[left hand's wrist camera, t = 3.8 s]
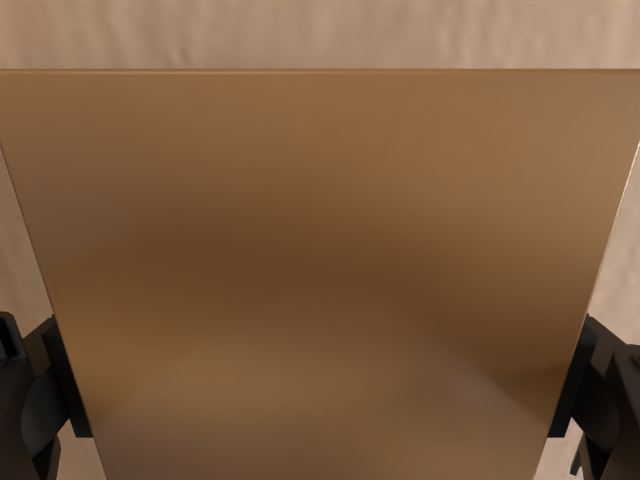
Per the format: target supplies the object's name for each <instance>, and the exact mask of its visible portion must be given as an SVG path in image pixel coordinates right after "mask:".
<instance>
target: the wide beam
mask: <svg viewBox="0 0 640 480" xmlns="http://www.w3.org/2000/svg"><path fill="white" fill-rule="evenodd" d="M0 147H1V150H2V153H3V156H4V159H5V163H6V166H7V169H8V172H9V175H10V178H11V181H12V184H13V188H14V191H15V194H16V197H17V200H18V203H19V206H20V209H21V213H22V216H23V219H24V222H25V225H26V228H27V231H28V234H29V238H30V241H31V244H32V247H33V250H34V253H35V256H36V259H37V263H38V266H39V269H40V272H41V275H42V278H43V281H44V284H45V288H46V291H47V294H48V297H49V300H50V303H51V306H52V309H53V313H54V316H55V319H56V322H57V325H58V328H59V331H60V334H61V338H62V341H63V344H64V347H65V350H66V353H67V356H68V359H69V363H70V366H71V369H72V372H73V375H74V378H75V381H76V384H77V388H78V391H79V394H80V397H81V400H82V403H83V406H84V410H85V413H86V416H87V419H88V422H89V425H90V428H91V431H92V435H93V438H94V441H95V444H96V447H97V450H98V453H99V456H100V460H101V463H102V466H103V469H104V472H105V475H106V478H107V480H534V477H535V474H536V470H537V467H538V464H539V461H540V458H541V455H542V452H543V449H544V445H545V442H546V439H547V436H548V433H549V430H550V427H551V424H552V420H553V417H554V414H555V411H556V408H557V405H558V402H559V399H560V395H561V392H562V389H563V386H564V383H565V380H566V377H567V374H568V370H569V367H570V364H571V361H572V358H573V355H574V352H575V349H576V345H577V342H578V339H579V336H580V333H581V330H582V327H583V324H584V320H585V317H586V314H587V311H588V308H589V305H590V302H591V299H592V295H593V292H594V289H595V286H596V283H597V280H598V277H599V274H600V270H601V267H602V264H603V261H604V258H605V255H606V252H607V249H608V245H609V242H610V239H611V236H612V233H613V230H614V227H615V224H616V220H617V217H618V214H619V211H620V208H621V205H622V202H623V199H624V195H625V192H626V189H627V186H628V183H629V180H630V177H631V174H632V170H633V167H634V164H635V161H636V158H637V155H638V152H639V149H640V69H0Z"/></svg>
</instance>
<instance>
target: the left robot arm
mask: <svg viewBox="0 0 640 480" xmlns="http://www.w3.org/2000/svg"><path fill="white" fill-rule="evenodd" d="M571 417H572V418H573V419H574V420H575V422H576V423H577V424H578V425H579V427H580V428H581V429H582V430H583V435H582V438H581V440H580V443H579V446H578V448H577V451H576V454H575V457H574V459H573V462H572V465H571V470H570V474H572V475H575V476H576V474H577V472H578V469H579V467H581V466H582V470H583V476H584V480H640V345H633V344H628V345H627V344H626V343H624V342H623V341H622V340H621V339H619V338H618V337H617V336H616V335H614V334H613V333H612V332H611V331H609V330H608V329H607V328H606V327H604V326H603V325H602V324H601V323H599V322H598V321H597V320H596V319H594V318H593V317H589V314H588V313H587V314H586V317H585V320H584V324H583V327H582V330H581V333H580V336H579V339H578V342H577V345H576V349H575V352H574V355H573V358H572V361H571V364H570V367H569V370H568V374H567V377H566V380H565V383H564V386H563V389H562V392H561V395H560V399H559V402H558V405H557V408H556V411H555V414H554V417H553V420H552V424H551V427H550V430H549V433H548V436H547V438H564V437H565V434H566V431H567V428H568V425H569V422H570V419H571ZM69 418H70V421H71V424H72V427H73V430H74V433H75V436H76V438H93V435H92V431H91V428H90V425H89V422H88V419H87V416H86V413H85V410H84V406H83V403H82V400H81V397H80V394H79V391H78V388H77V384H76V381H75V378H74V375H73V372H72V369H71V366H70V363H69V359H68V356H67V353H66V350H65V347H64V344H63V341H62V338H61V334H60V331H59V328H58V325H57V322H56V319H55V316H54V314H53V315H52V317H51V318H48V319H47V320H46V321H44V322H43V323H42V324H41V325H39V326H38V327H37V328H36V329H35V330H33V331H32V332H31V333H30V334H28V335H27V336H26V337H25V338H23V339H22V337H21V334H20V332H19V329H18V326H17V324H16V321H15V318H14V315H12V314H10V313H8V312H1V311H0V480H56V478H57V471H58V465H59V459H60V453H61V445H60V440H59V438H58V435H57V433H58V432H59V430H60V429H61V428H62V427H63V425H64V424H65V423H66V421H67V420H68V419H69Z"/></svg>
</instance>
